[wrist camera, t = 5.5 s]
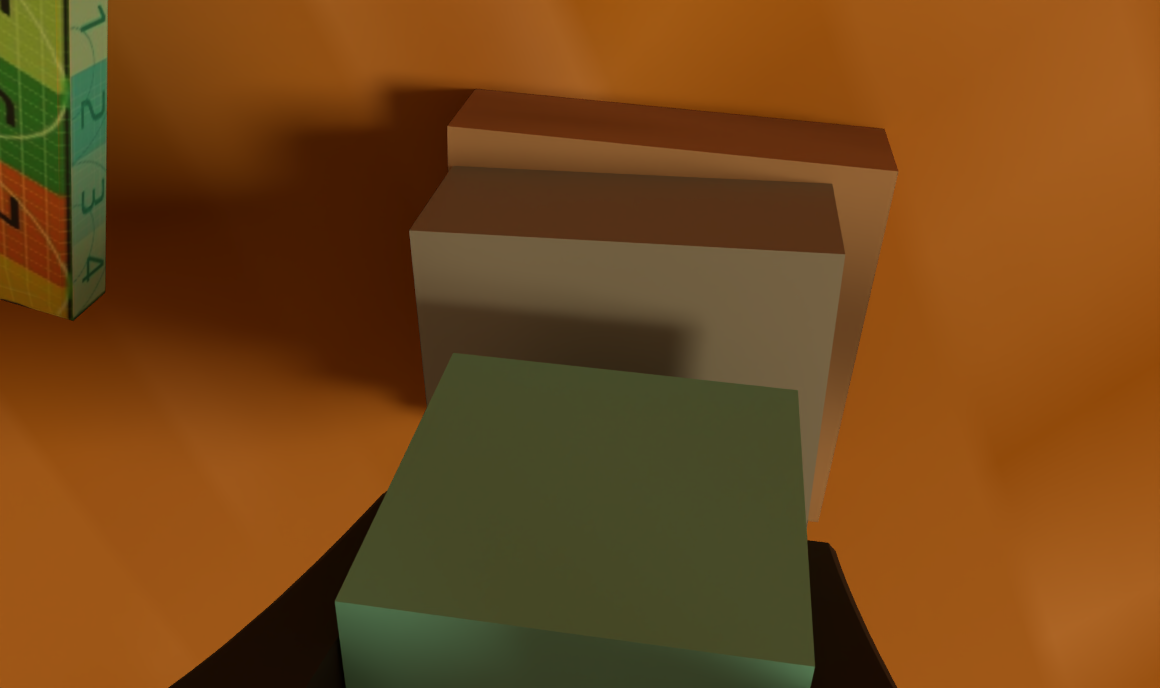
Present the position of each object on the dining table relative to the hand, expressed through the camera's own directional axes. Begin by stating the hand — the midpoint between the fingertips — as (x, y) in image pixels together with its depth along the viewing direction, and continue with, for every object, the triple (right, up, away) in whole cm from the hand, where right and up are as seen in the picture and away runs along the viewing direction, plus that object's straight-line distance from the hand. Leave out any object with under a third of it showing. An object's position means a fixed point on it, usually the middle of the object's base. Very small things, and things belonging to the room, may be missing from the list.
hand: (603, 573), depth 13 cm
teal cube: (0, +1, +1) cm, 2 cm away
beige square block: (+1, +3, +5) cm, 6 cm away
